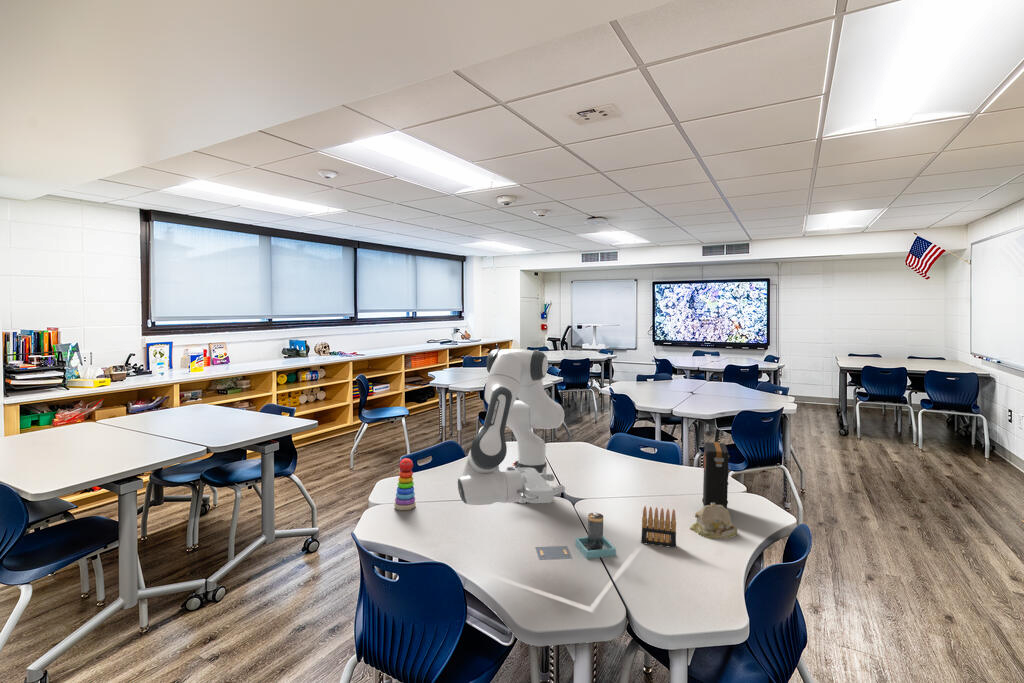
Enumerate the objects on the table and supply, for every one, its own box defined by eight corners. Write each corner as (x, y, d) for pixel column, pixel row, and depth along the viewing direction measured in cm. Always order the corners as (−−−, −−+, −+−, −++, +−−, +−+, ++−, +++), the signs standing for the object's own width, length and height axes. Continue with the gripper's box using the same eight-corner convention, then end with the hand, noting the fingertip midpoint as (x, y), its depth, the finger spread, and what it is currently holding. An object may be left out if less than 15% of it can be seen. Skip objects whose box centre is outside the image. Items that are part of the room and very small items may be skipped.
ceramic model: (699, 539, 160) (700, 509, 159) (686, 525, 171) (686, 497, 170) (741, 539, 160) (742, 509, 160) (725, 524, 171) (726, 496, 171)
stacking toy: (398, 512, 179) (398, 462, 179) (391, 505, 186) (391, 457, 185) (418, 508, 184) (418, 459, 183) (411, 501, 190) (410, 454, 190)
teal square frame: (586, 561, 144) (586, 552, 144) (575, 547, 153) (575, 538, 153) (615, 558, 146) (615, 548, 146) (602, 544, 155) (603, 535, 155)
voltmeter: (729, 521, 174) (731, 452, 172) (703, 518, 176) (705, 450, 175) (725, 506, 188) (727, 442, 187) (701, 503, 191) (703, 440, 190)
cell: (585, 552, 148) (586, 515, 148) (589, 546, 153) (590, 509, 152) (600, 555, 146) (601, 517, 146) (604, 549, 151) (605, 512, 150)
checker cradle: (539, 562, 143) (539, 559, 143) (535, 550, 151) (535, 546, 151) (572, 561, 144) (572, 557, 144) (566, 548, 152) (566, 545, 152)
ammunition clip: (676, 545, 155) (676, 508, 155) (676, 547, 153) (676, 510, 153) (641, 540, 158) (642, 504, 158) (641, 543, 156) (641, 506, 156)
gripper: (523, 488, 132) (570, 484, 136) (506, 465, 152) (548, 461, 155) (522, 511, 133) (570, 506, 136) (506, 484, 153) (548, 481, 156)
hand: (558, 482), depth 146 cm, fingers open, 8 cm apart
